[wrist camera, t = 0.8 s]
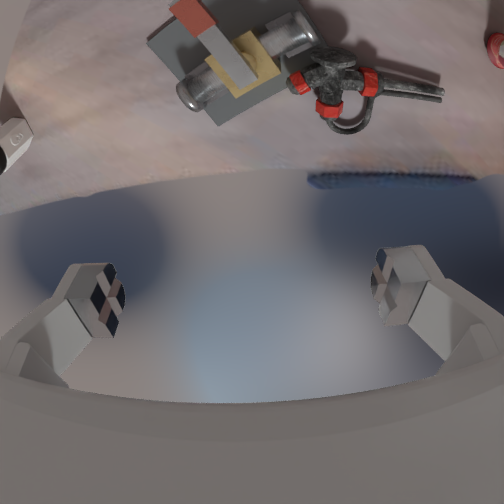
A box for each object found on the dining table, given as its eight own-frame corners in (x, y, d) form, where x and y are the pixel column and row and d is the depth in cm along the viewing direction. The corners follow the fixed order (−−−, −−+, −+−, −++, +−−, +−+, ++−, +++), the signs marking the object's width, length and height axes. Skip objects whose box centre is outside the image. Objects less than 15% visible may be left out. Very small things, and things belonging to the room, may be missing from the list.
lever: (261, 72, 32) (259, 78, 30) (241, 84, 33) (238, 91, 31) (194, -9, 24) (186, -10, 22) (174, 5, 25) (165, 6, 23)
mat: (267, -38, 25) (267, -38, 25) (337, 62, 37) (338, 63, 36) (148, 42, 35) (146, 43, 35) (219, 124, 47) (218, 126, 46)
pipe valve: (294, 5, 30) (297, 5, 25) (319, 43, 34) (327, 51, 29) (181, 74, 39) (165, 88, 34) (207, 106, 43) (196, 124, 38)
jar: (38, 142, 49) (6, 175, 41) (19, 153, 50) (-10, 184, 43) (22, 110, 42) (-14, 139, 34) (4, 123, 44) (-30, 153, 36)
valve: (284, 122, 47) (282, 43, 34) (420, 127, 46) (440, 60, 33) (288, 146, 44) (287, 59, 31) (433, 150, 42) (460, 79, 29)
